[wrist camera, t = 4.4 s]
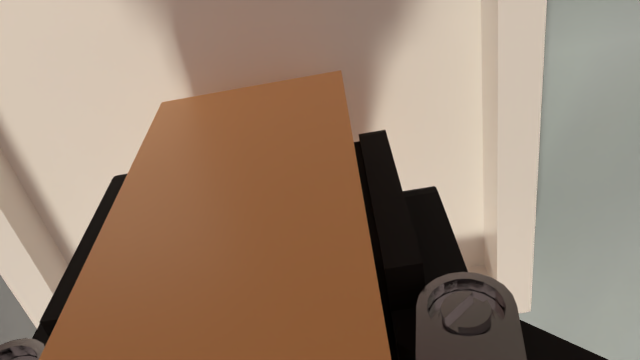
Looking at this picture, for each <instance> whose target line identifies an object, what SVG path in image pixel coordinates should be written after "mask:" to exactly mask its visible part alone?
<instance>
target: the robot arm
mask: <svg viewBox="0 0 640 360" xmlns="http://www.w3.org/2000/svg"><path fill="white" fill-rule="evenodd" d="M354 147H355V153H356V159H357V164H358V170H359V176H360V182H361V187H362V193H363V199H364V205H365V211H366V216H367V222H368V228H369V234H370V239H371V245H372V251H373V257H374V262H375V268H376V274H377V280H378V285H379V291H380V297H381V303H382V309H383V314H384V320H385V326H386V332H387V337H388V343H389V349H390V355H391V360H608V359H605V358H603V357H601V356H599V355H597V354H594V353H592V352H590V351H588V350H586V349H583V348H581V347H579V346H577V345H574V344H572V343H570V342H568V341H566V340H563V339H561V338H559V337H557V336H555V335H552V334H550V333H548V332H546V331H544V330H541V329H539V328H537V327H535V326H532V325H530V324H528V323H526V322H524V321H521V320H520V319H519V313H518V308H517V304H516V302H515V299H514V297H513V294H512V293H511V292H510V291H509V290H508V289H507V288H506V287H505V286H504V284H502V283H500V282H499V281H497V280H495V279H494V278H492V277H489V276H486V275H482V274H479V273H472V272H468V270H467V268H466V265H465V262H464V260H463V257H462V254H461V252H460V249H459V246H458V244H457V241H456V238H455V235H454V233H453V230H452V227H451V225H450V222H449V219H448V217H447V214H446V211H445V209H444V206H443V203H442V201H441V198H440V195H439V193H438V190H437V188H436V187H435V186H432V187H425V188H419V189H413V190H407V191H402V187H401V183H400V180H399V176H398V173H397V169H396V166H395V162H394V158H393V155H392V151H391V148H390V144H389V141H388V137H387V133H386V130H380V131H374V132H368V133H362V134H359V141H358V142H354ZM126 176H127V174H122V175H117V176H114V177H113V179H112V180H111V182H110V184H109V186H108V188H107V190H106V192H105V194H104V196H103V198H102V200H101V202H100V204H99V206H98V208H97V210H96V212H95V214H94V216H93V218H92V220H91V222H90V224H89V225H88V227H87V229H86V231H85V233H84V235H83V237H82V239H81V241H80V243H79V245H78V247H77V249H76V251H75V253H74V255H73V257H72V259H71V261H70V263H69V265H68V267H67V269H66V271H65V273H64V274H63V276H62V278H61V280H60V282H59V284H58V286H57V288H56V290H55V292H54V294H53V296H52V298H51V300H50V302H49V304H48V306H47V308H46V310H45V312H44V314H43V316H42V318H41V320H40V322H39V323H40V324H39V326H38V328H37V330H36V332H35V334H34V336H33V338H32V339H28V338H23V339H17V340H12V341H9V342H7V343H4V344H1V345H0V360H39V358H40V356H41V354H42V352H43V350H44V348H45V346H46V343H47V341H48V339H49V337H50V335H51V333H52V331H53V329H54V327H55V325H56V323H57V320H58V318H59V316H60V314H61V312H62V310H63V308H64V306H65V304H66V302H67V299H68V297H69V295H70V293H71V291H72V289H73V287H74V285H75V283H76V281H77V279H78V276H79V274H80V272H81V270H82V268H83V266H84V264H85V262H86V260H87V258H88V256H89V253H90V251H91V249H92V247H93V245H94V243H95V241H96V239H97V237H98V235H99V232H100V230H101V228H102V226H103V224H104V222H105V220H106V218H107V216H108V214H109V212H110V209H111V207H112V205H113V203H114V201H115V199H116V197H117V195H118V193H119V191H120V188H121V186H122V184H123V182H124V180H125V178H126Z"/></svg>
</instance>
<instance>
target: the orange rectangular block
mask: <svg viewBox="0 0 640 360" xmlns="http://www.w3.org/2000/svg"><path fill="white" fill-rule="evenodd" d="M39 360H391V355H390V349H389V343H388V337H387V332H386V326H385V320H384V314H383V309H382V303H381V297H380V291H379V285H378V280H377V274H376V268H375V262H374V257H373V251H372V245H371V239H370V234H369V228H368V222H367V216H366V211H365V205H364V199H363V193H362V187H361V182H360V176H359V170H358V164H357V159H356V153H355V147H354V141H353V136H352V130H351V124H350V118H349V113H348V107H347V101H346V95H345V89H344V84H343V78H342V72H341V70H339V71H334V72H328V73H323V74H317V75H311V76H306V77H300V78H295V79H289V80H283V81H278V82H272V83H267V84H261V85H255V86H250V87H244V88H239V89H233V90H227V91H222V92H216V93H211V94H205V95H199V96H194V97H188V98H183V99H177V100H171V101H166V102H162V103H161V105H160V107H159V109H158V111H157V113H156V115H155V117H154V119H153V121H152V124H151V126H150V128H149V130H148V132H147V134H146V136H145V138H144V140H143V142H142V145H141V147H140V149H139V151H138V153H137V155H136V157H135V159H134V161H133V163H132V165H131V168H130V170H129V172H128V174H127V176H126V178H125V180H124V182H123V184H122V186H121V188H120V191H119V193H118V195H117V197H116V199H115V201H114V203H113V205H112V207H111V209H110V212H109V214H108V216H107V218H106V220H105V222H104V224H103V226H102V228H101V230H100V232H99V235H98V237H97V239H96V241H95V243H94V245H93V247H92V249H91V251H90V253H89V256H88V258H87V260H86V262H85V264H84V266H83V268H82V270H81V272H80V274H79V276H78V279H77V281H76V283H75V285H74V287H73V289H72V291H71V293H70V295H69V297H68V299H67V302H66V304H65V306H64V308H63V310H62V312H61V314H60V316H59V318H58V320H57V323H56V325H55V327H54V329H53V331H52V333H51V335H50V337H49V339H48V341H47V343H46V346H45V348H44V350H43V352H42V354H41V356H40V358H39Z"/></svg>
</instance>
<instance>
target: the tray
mask: <svg viewBox="0 0 640 360" xmlns="http://www.w3.org/2000/svg"><path fill="white" fill-rule="evenodd" d="M546 6H547V0H0V275H1V276H2V278H3V279H4V281H5V282H6V284H7V285H8V287H9V288H10V290H11V291H12V293H13V294H14V296H15V297H16V298H17V300H18V301H19V303H20V304H21V306H22V307H23V309H24V310H25V312H26V313H27V315H28V316H29V318H30V319H31V321H32V322H33V324H34V325H35V327H36V328H38V326H39V324H40V323H39V322H40V320H41V318H42V316H43V314H44V312H45V310H46V308H47V306H48V304H49V302H50V300H51V298H52V296H53V294H54V292H55V290H56V288H57V286H58V284H59V282H60V280H61V278H62V276H63V274H64V273H65V271H66V269H67V267H68V265H69V263H70V261H71V259H72V257H73V255H74V253H75V251H76V249H77V247H78V245H79V243H80V241H81V239H82V237H83V235H84V233H85V231H86V229H87V227H88V225H89V224H90V222H91V220H92V218H93V216H94V214H95V212H96V210H97V208H98V206H99V204H100V202H101V200H102V198H103V196H104V194H105V192H106V190H107V188H108V186H109V184H110V182H111V180H112V179H113V177H114V176H117V175H122V174H128V172H129V170H130V168H131V165H132V163H133V161H134V159H135V157H136V155H137V153H138V151H139V149H140V147H141V145H142V142H143V140H144V138H145V136H146V134H147V132H148V130H149V128H150V126H151V124H152V121H153V119H154V117H155V115H156V113H157V111H158V109H159V107H160V105H161V103H162V102H166V101H171V100H177V99H183V98H188V97H194V96H199V95H205V94H211V93H216V92H222V91H227V90H233V89H239V88H244V87H250V86H255V85H261V84H267V83H272V82H278V81H283V80H289V79H295V78H300V77H306V76H311V75H317V74H323V73H328V72H334V71H339V70H341V72H342V78H343V84H344V89H345V95H346V101H347V107H348V113H349V118H350V124H351V130H352V136H353V141H354V142H358V141H359V134H362V133H368V132H374V131H380V130H386V133H387V137H388V141H389V144H390V148H391V151H392V155H393V158H394V162H395V166H396V169H397V173H398V176H399V180H400V183H401V187H402V191H407V190H413V189H419V188H425V187H432V186H435V187H436V188H437V190H438V193H439V195H440V198H441V201H442V203H443V206H444V209H445V211H446V214H447V217H448V219H449V222H450V225H451V227H452V230H453V233H454V235H455V238H456V241H457V244H458V246H459V249H460V252H461V254H462V257H463V260H464V262H465V265H466V268H467V270H468V272H472V273H479V274H482V275H486V276H489V277H492V278H494V279H495V280H497V281H499V282H500V283H502V284H504V286H505V287H506V288H507V289H508V290H509V291H510V292H511V293H512V294H513V297H514V299H515V302H516V304H517V308H518V313H524V312H530V311H531V295H532V276H533V256H534V237H535V218H536V199H537V179H538V160H539V141H540V122H541V102H542V83H543V64H544V45H545V25H546Z"/></svg>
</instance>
